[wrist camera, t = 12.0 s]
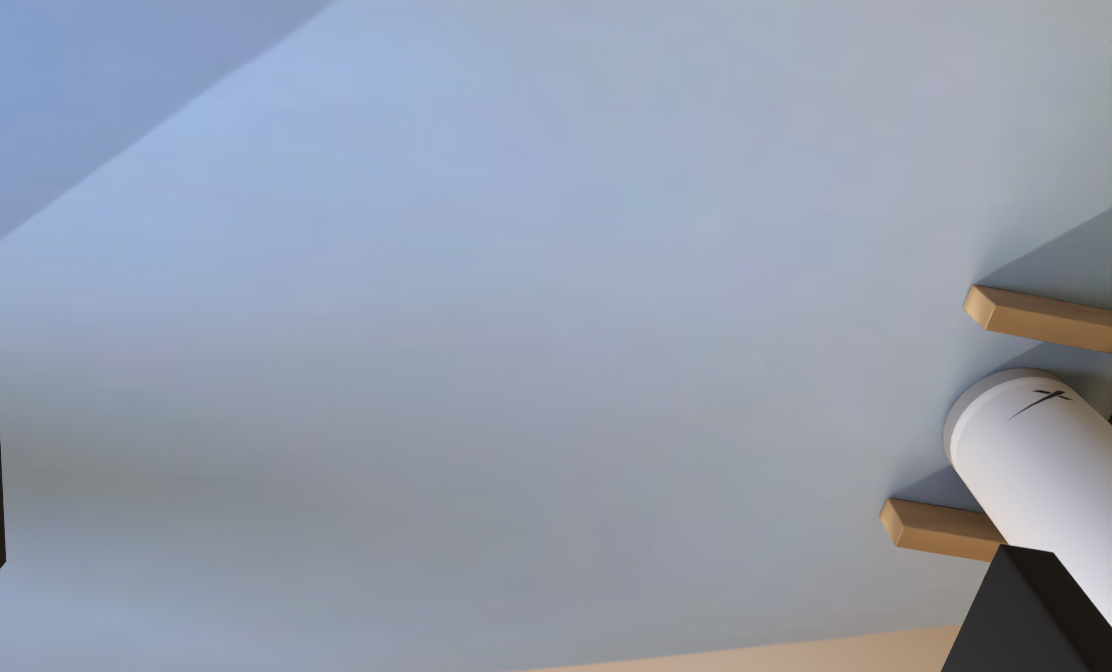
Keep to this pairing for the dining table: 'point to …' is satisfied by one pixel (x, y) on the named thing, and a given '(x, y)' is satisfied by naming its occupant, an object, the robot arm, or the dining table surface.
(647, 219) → the dining table surface
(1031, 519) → the travel mug
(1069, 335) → the frame
